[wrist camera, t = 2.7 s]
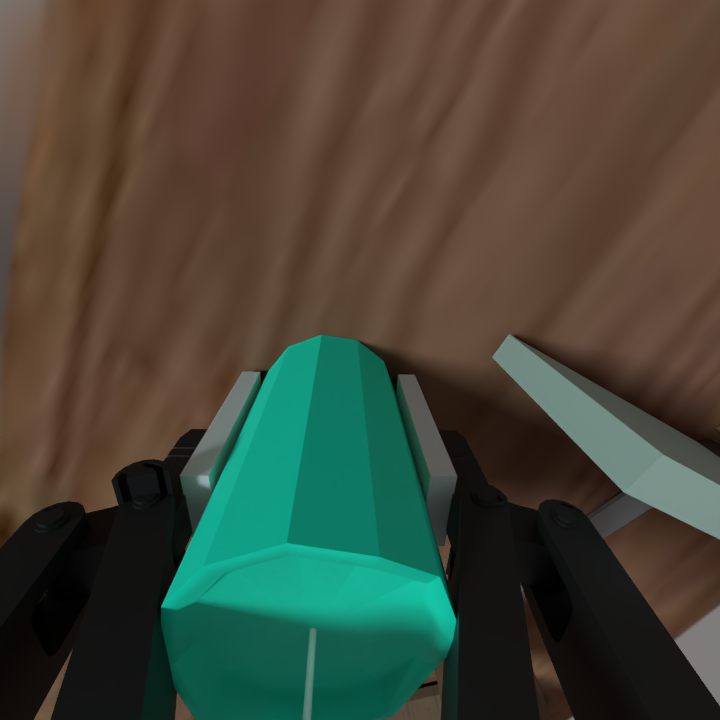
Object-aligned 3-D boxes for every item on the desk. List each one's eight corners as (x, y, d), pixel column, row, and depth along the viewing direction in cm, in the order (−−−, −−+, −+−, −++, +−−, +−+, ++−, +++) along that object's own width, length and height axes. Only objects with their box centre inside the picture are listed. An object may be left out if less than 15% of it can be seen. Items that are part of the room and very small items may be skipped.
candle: (317, 468, 18) (278, 868, 7) (236, 383, 16) (7, 762, 5) (418, 407, 17) (555, 775, 6) (344, 307, 15) (348, 589, 4)
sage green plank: (696, 441, 18) (940, 605, 11) (677, 458, 18) (900, 628, 11) (509, 334, 15) (663, 454, 8) (492, 357, 16) (623, 492, 8)
